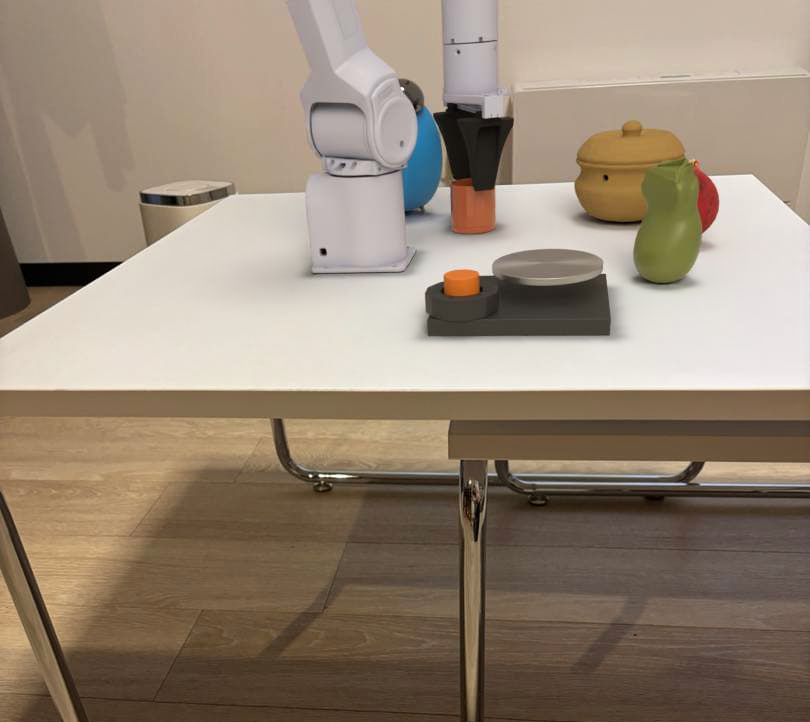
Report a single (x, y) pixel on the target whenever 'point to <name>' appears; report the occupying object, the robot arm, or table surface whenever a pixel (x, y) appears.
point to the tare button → (461, 282)
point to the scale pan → (547, 267)
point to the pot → (621, 169)
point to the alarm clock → (421, 153)
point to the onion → (706, 198)
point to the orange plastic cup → (472, 208)
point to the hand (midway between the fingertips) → (472, 184)
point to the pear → (669, 223)
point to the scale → (521, 309)
